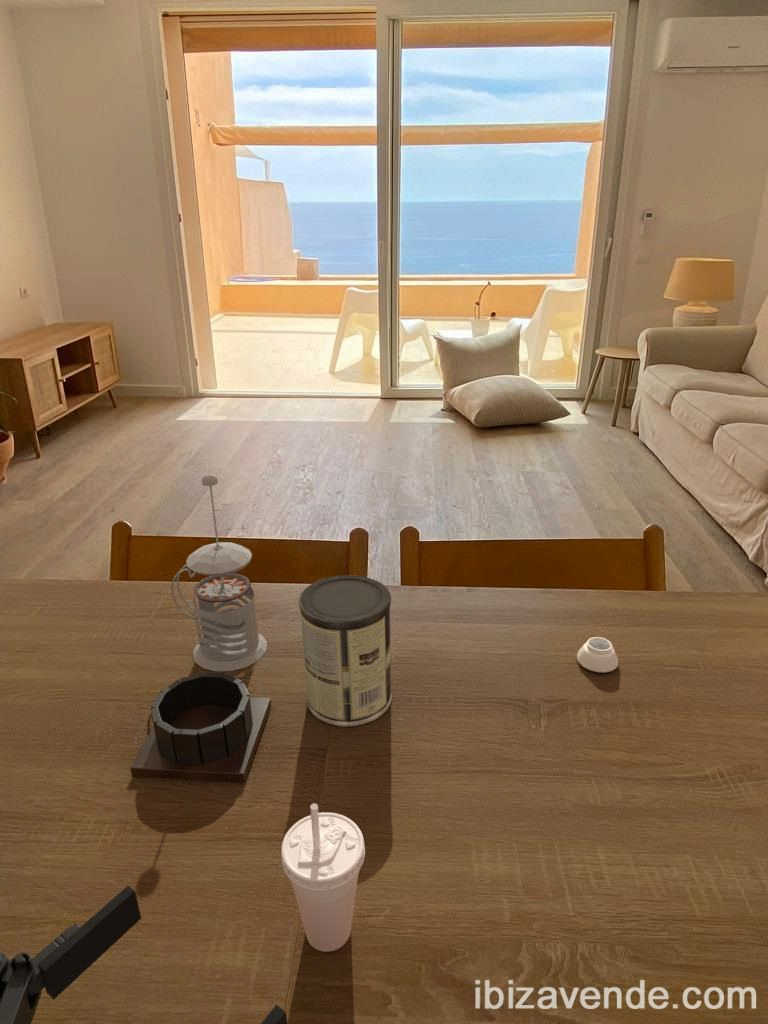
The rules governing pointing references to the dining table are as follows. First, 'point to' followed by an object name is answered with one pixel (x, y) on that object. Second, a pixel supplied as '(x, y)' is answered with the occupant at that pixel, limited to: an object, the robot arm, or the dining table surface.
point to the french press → (223, 604)
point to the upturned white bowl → (598, 655)
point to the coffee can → (347, 649)
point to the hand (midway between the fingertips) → (203, 956)
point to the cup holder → (203, 730)
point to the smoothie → (324, 875)
